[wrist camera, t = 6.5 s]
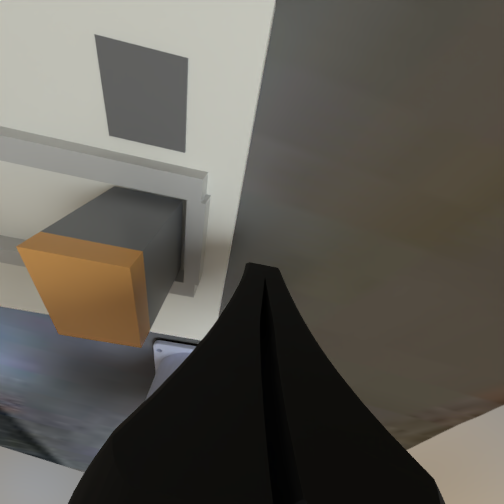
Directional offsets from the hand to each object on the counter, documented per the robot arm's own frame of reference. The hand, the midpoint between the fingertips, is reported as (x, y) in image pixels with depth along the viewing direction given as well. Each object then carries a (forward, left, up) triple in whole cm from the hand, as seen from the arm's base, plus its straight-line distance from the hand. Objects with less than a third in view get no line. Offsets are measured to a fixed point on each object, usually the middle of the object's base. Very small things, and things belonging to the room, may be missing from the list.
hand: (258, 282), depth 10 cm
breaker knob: (0, +5, -2) cm, 6 cm away
